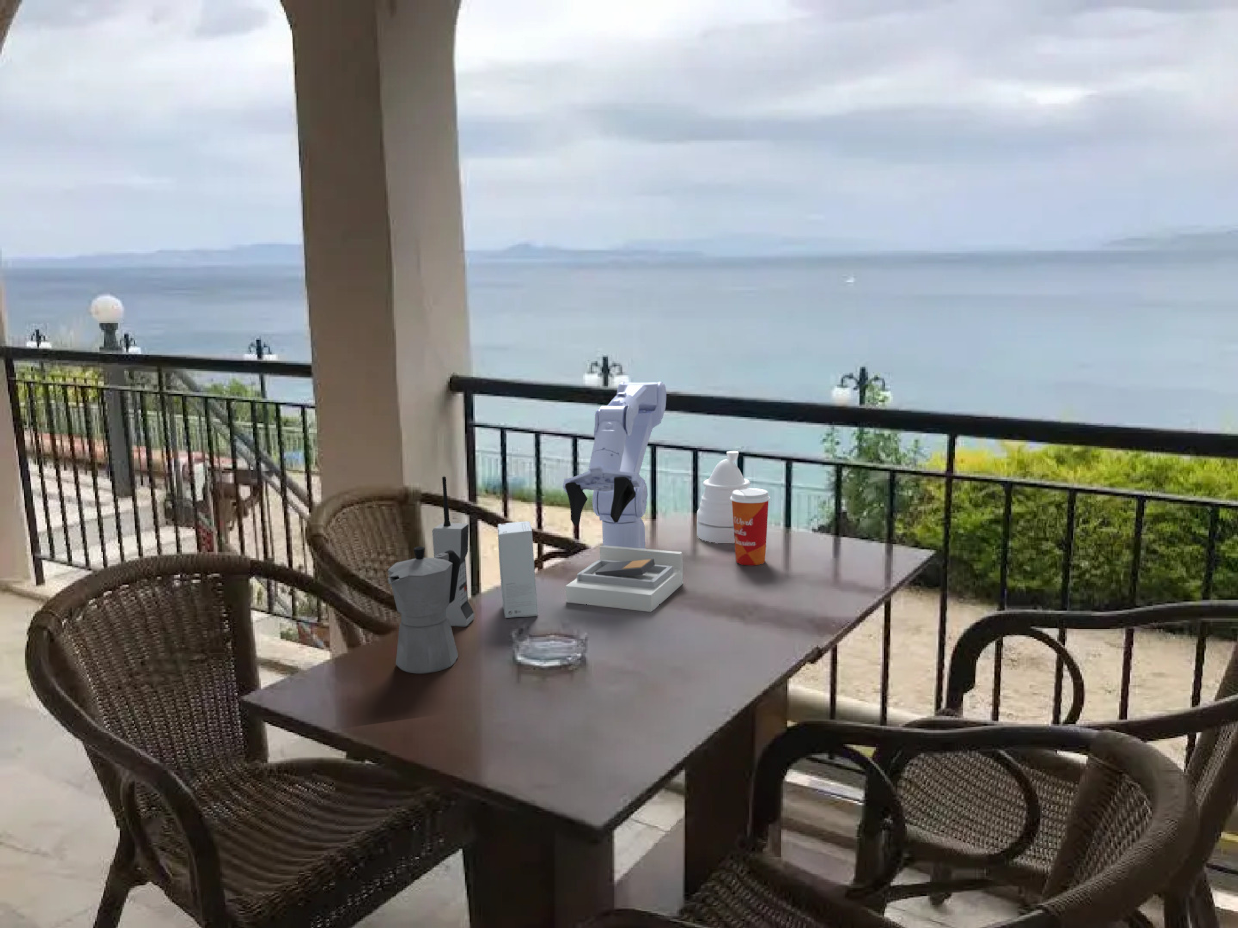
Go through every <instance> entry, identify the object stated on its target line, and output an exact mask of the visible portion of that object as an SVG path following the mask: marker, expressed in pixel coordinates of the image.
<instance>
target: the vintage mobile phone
mask: <svg viewBox="0 0 1238 928" xmlns="http://www.w3.org/2000/svg"><path fill="white" fill-rule="evenodd" d="M441 479H442V481H441V483H442V497H443V507H442V508H443V509H442V510H443V522H441V523H440V524H438V525H437V526H435V527H434V528H432V530H431V531H432V532H431V533H432V547H433V558H435V555H437V554H440V553H444V552H446V551H448V550H453V551H454V552H455V553H456V554H457V555H458V556H459V558H460V568H459V574H458V581H457V588H456V594H455V599H454V601H453V602H451V603H450V604H449V605H448V607H447V609H446V616H447V618H448V619H449V621H450V625H451V627H465V628H467V627H468V626H469V624H470V623H471V622H472V621H473V620H474V619H475V612H474V610H473V608H472V606H471V605H470V602H469V595H468V593H469V592H468V577H467V576H468V575H467V566H466V565H467V564H466V557H467V555H468V551H469V535H470V534H469V532H470V531H469V529H470V527H469V523H467V522H466V523H465V522H463V523H462V522H457V523H456V522H450V508H449V504H448V490H447V488H448V487H447V476H445V475H443V476H442V477H441Z"/></svg>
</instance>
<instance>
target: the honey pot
mask: <svg viewBox="0 0 1238 928" xmlns="http://www.w3.org/2000/svg"><path fill="white" fill-rule="evenodd" d="M739 453H740V452H739V451H737V450H729V451H726V458H725V459H722V460H720V461H719V462H718V463H717V464H716V466H715V467H714V469H713V471H711V475H710V476H709V478H707V479H705V480H704V481H703V482H702V485H703V487H704V488H705V489H704V491H703V494H702V495H701V497H700V498H701V501H700V503H699V508H698V510H697V511H696V537H697V536H698V537H699V538H700V539H702V540H701V541H703V540H705V541H704V542H706V541H709V542H708V543H711V542H715V543H714V544H718V543H735V540H734V525H733V510H732V500H731V499H730V497H731V496H732V492H733V491H734V490H739V489H746V488H749V486H751V481H750V480H749V479H748V478H747V479H746V478H745V477H744V476H743V473H742V472H741V470H740V468H739V467H738V466H737V465H736V464H735V461H736V460H737V459H738V458H739ZM698 537H697V538H698ZM699 538H698V539H699ZM700 539H699V540H700Z"/></svg>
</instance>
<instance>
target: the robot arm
mask: <svg viewBox="0 0 1238 928" xmlns="http://www.w3.org/2000/svg"><path fill="white" fill-rule="evenodd" d="M666 388H667V387H666V385H665V383H664V382H663V381H658V382H652V381H651V382H648V381H647V382H625V381H621V382H620V383H619V384H618V385H617V390H616V395H615V396H614V397H613V398H612V399H611V401H610V402H609V403H608V404H607V405H601V406H600V408H596V411H595V413H594V429H593V437H594V440H593V441H594V442H593V446H592V450H591V456H590V460H589V465H588V470H587V471H586V472H583V473H580V474H578V475H575V476H573V477H568V478H564V479H563V484H562V488H563V490H564V492H565V493H566V494H567V497H568V502H569V508H570V509H569V510H570V521H571V522H572V524H573V525H574V526H579V524H580V522H581V518H582V517H581V516H582V512H583V509H584V506H585V504H586V503H587V501H588V496H587V495H586V493H585V492H584V491H585V490H588V491H593V492H592V504H591V505H592V510H593V512H594V514H595V516H597V517H599V521H601V524H602V525H601V528H602V532H601V533H602V545H607V546H618V547H630V548H641V549H646V526H645V522H644V521H643V519H642V517H644V516H645V514H646V510H647V505H648V502H647V501H648V488H647V483H646V480H645V478H643V477H641V475H640V473H641V469H642V465H643V461H644V458H645V455H646V452H647V451H646V450H647V447H648V443H649V440H650V438H651V434H652V432H653V429H654V428H656V427H657V426H659V425H660V424H661V423H662V420H663V418H664V415H665V411H666V407H667V405H666V404H667V389H666Z"/></svg>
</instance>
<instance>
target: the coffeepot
mask: <svg viewBox="0 0 1238 928" xmlns="http://www.w3.org/2000/svg"><path fill="white" fill-rule="evenodd" d="M425 549H426V547H425V546H420V545H419V546H416V547H414V548H413V552H414V557H415V558H412V559H407V560H403V561H402V560H401V561H398V562H395V563H394V564H393V565H391V566H390V567H389V568H388V569H387V574H388V578H387V583H388V584H389V585H390V586H391V589H392V594H393V598H394V602H395V607H396V611H397V612H398V613H400V624H399V628H398V635H397V636H398V638H397V648H396V649H397V650H396V656H395V657H396V658H395V665H396V666H397V667H398V669H400V670H401V671H403V672H406V673H410V674H430V673H436V672H439V671H443V670H446V669H448V668H450V667H452V666H453V665H454V664H455V663H456V661H457V659H458V657H459V653H458V649H457V646H456V642H455V638H454V634H453V630H452V626H451V625H450V621H449V619H448V618H447V616H446V609H447V607H448V605H449V604H450V603H451V602H453V601H454V599H455V594H456V588H457V581H458V574H459V568H460V558H459V556H458V555H457V554H456V553H455V552H454V551H453V550H448V551H446V552H444V553H440V554H437V555H435V558H434V557H425Z"/></svg>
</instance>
